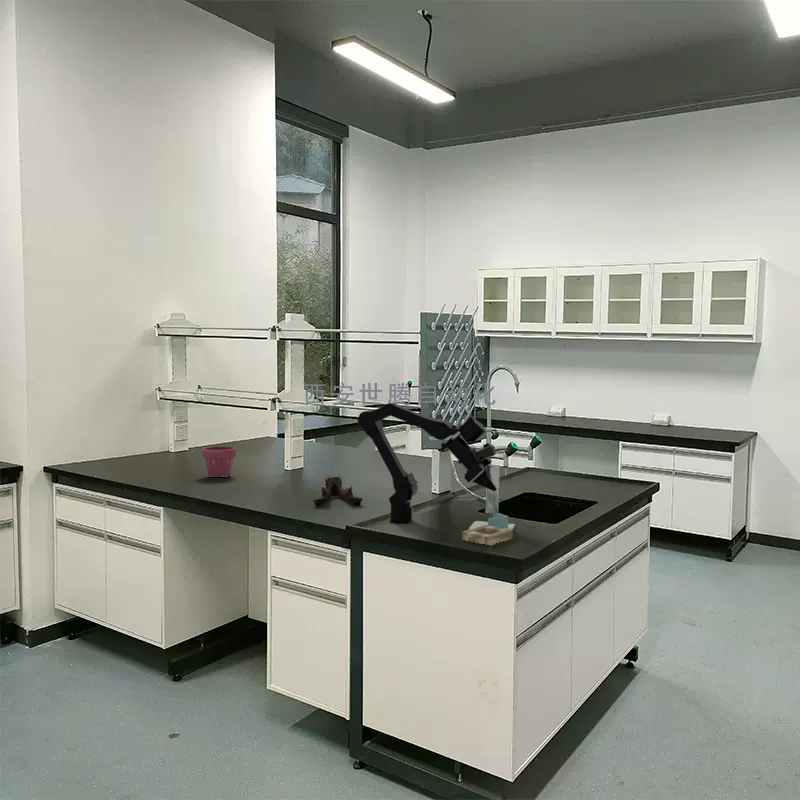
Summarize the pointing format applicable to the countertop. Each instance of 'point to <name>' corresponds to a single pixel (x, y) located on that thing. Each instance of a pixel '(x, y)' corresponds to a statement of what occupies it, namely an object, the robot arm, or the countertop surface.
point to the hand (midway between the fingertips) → (496, 489)
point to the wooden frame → (487, 535)
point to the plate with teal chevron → (495, 522)
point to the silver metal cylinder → (492, 496)
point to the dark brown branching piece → (336, 491)
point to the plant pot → (219, 460)
